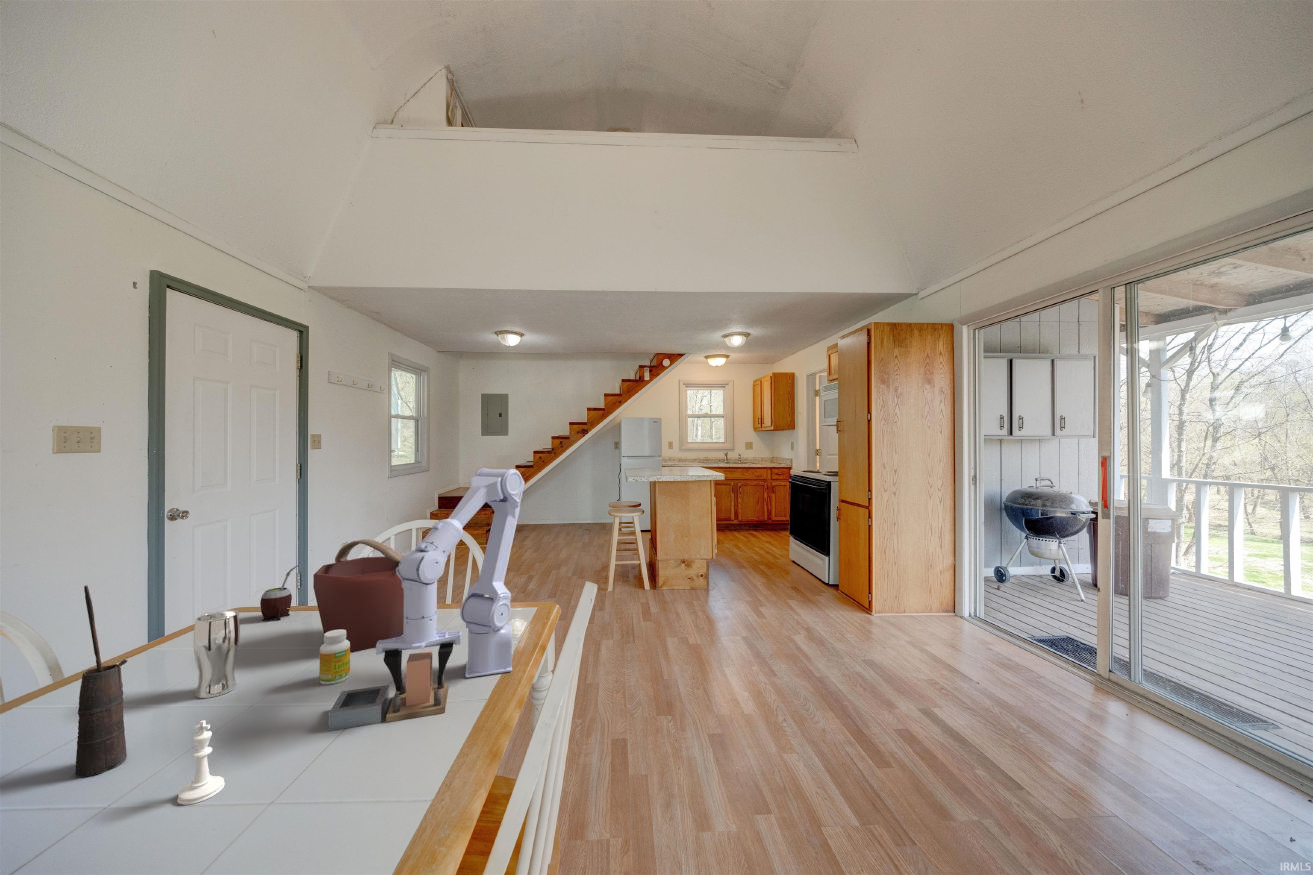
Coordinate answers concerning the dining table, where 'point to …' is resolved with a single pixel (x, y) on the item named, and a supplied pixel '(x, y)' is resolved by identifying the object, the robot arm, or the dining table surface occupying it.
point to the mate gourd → (276, 602)
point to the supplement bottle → (334, 658)
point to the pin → (419, 678)
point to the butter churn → (100, 713)
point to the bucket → (361, 596)
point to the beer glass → (216, 652)
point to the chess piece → (201, 771)
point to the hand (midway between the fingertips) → (419, 686)
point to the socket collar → (359, 707)
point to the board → (435, 706)
